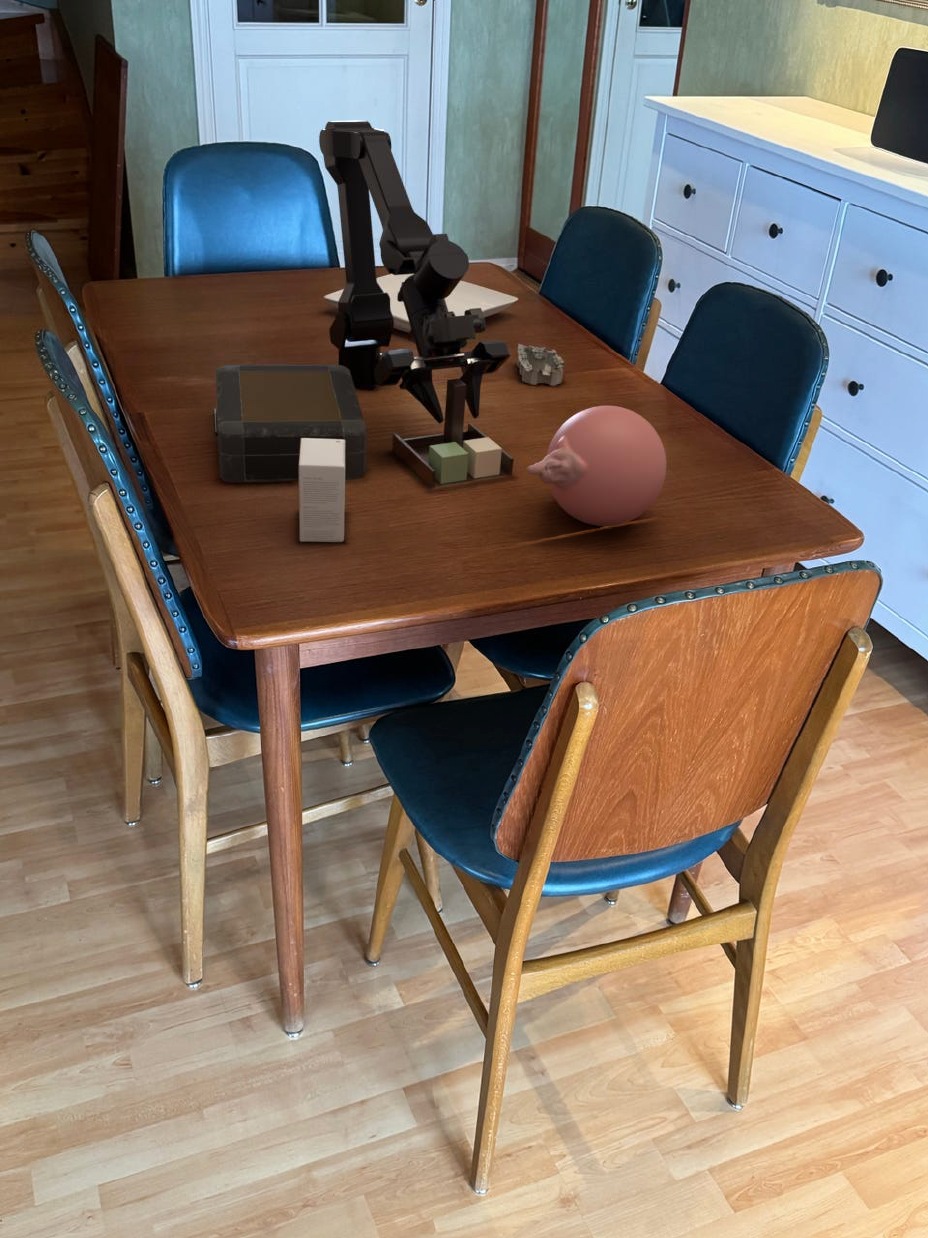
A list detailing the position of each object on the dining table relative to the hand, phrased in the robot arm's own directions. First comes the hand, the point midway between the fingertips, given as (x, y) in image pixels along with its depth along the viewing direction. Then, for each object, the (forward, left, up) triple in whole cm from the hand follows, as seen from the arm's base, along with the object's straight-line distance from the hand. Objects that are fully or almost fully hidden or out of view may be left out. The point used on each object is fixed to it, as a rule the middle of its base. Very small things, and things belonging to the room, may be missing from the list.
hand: (459, 419), depth 152 cm
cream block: (+4, 0, -7) cm, 8 cm away
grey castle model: (+6, +42, -8) cm, 43 cm away
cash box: (-25, 0, -8) cm, 26 cm away
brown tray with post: (-1, +1, -8) cm, 8 cm away
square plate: (-20, +66, -8) cm, 69 cm away
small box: (-13, -22, -8) cm, 27 cm away
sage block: (0, -4, -7) cm, 8 cm away
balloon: (+19, -10, -8) cm, 23 cm away
